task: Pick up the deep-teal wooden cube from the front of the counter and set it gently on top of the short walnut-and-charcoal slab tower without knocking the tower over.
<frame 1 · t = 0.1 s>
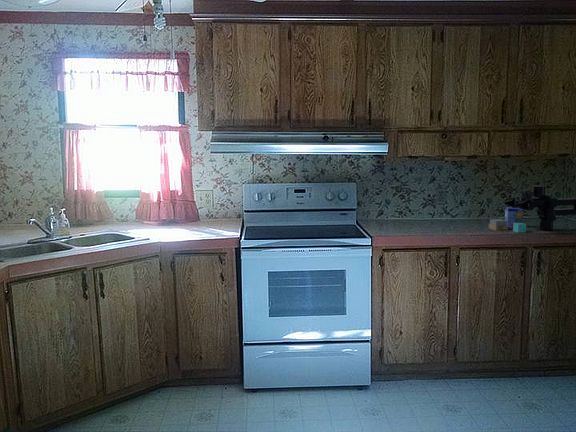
hand: (508, 204, 293), 17 cm above the countertop, tool horizontal, fingers open, 9 cm apart
teal cube: (519, 231, 294), on the countertop
tower top: (498, 224, 304), point 3 cm above the countertop, touching tower base
tower base: (498, 229, 304), on the countertop, touching tower top
ink cartridge box: (513, 226, 312), on the countertop
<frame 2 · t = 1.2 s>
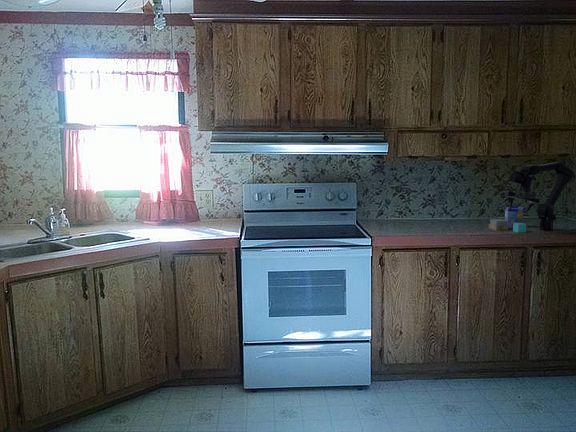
hand: (517, 211, 293), 12 cm above the countertop, tool tilted 15°, fingers open, 9 cm apart
tower top: (498, 224, 304), point 3 cm above the countertop
tower base: (498, 229, 304), on the countertop
everything else where it was.
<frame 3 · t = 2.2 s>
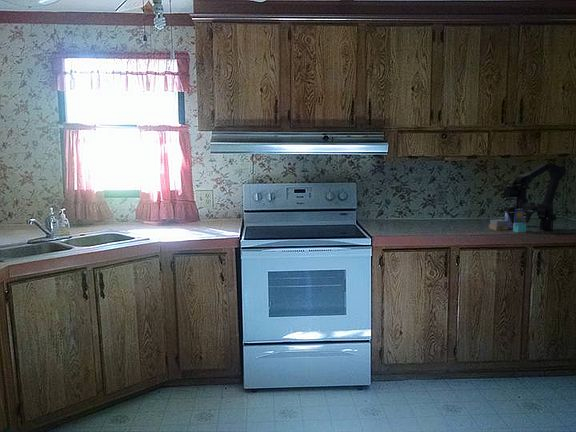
hand: (520, 223, 294), 5 cm above the countertop, tool pointing down, fingers open, 9 cm apart
tower top: (498, 225, 304), point 2 cm above the countertop, touching tower base
tower base: (498, 230, 304), on the countertop, touching tower top
everything else where it was.
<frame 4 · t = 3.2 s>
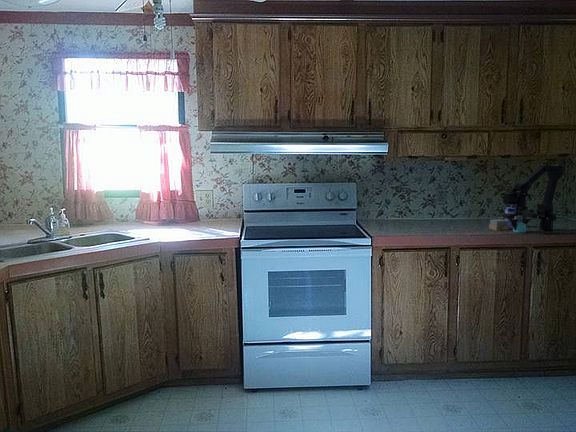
hand: (519, 230, 294), 1 cm above the countertop, tool pointing down, fingers closed on teal cube, 5 cm apart
teal cube: (519, 231, 294), on the countertop, touching gripper
everything else where it was.
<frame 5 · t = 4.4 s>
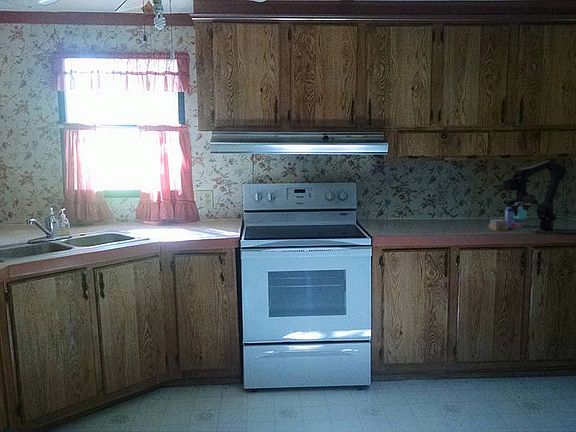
hand: (520, 216, 293), 9 cm above the countertop, tool pointing down, fingers closed on teal cube, 5 cm apart
teal cube: (519, 218, 293), point 8 cm above the countertop, touching gripper
tower top: (498, 225, 304), point 3 cm above the countertop
tower base: (498, 229, 304), on the countertop
everything else where it was.
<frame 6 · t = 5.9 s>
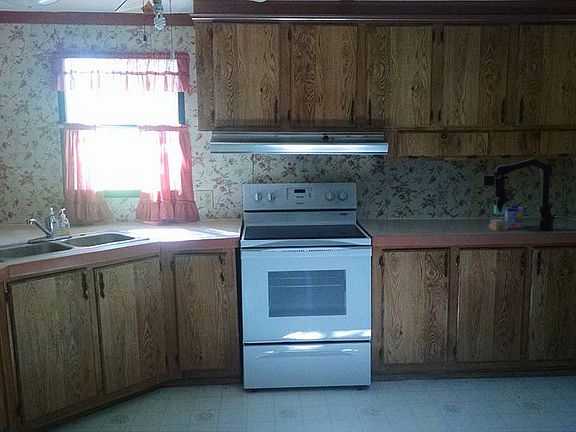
hand: (499, 211, 303), 11 cm above the countertop, tool pointing down, fingers closed on teal cube, 5 cm apart
teal cube: (499, 213, 303), point 10 cm above the countertop, touching gripper
tower top: (498, 225, 304), point 2 cm above the countertop, touching tower base
tower base: (498, 229, 304), on the countertop, touching tower top
everything else where it was.
when the fingers open (8 cm above the countertop, at t = 6.7 s): teal cube drops 2 cm, resting on tower top.
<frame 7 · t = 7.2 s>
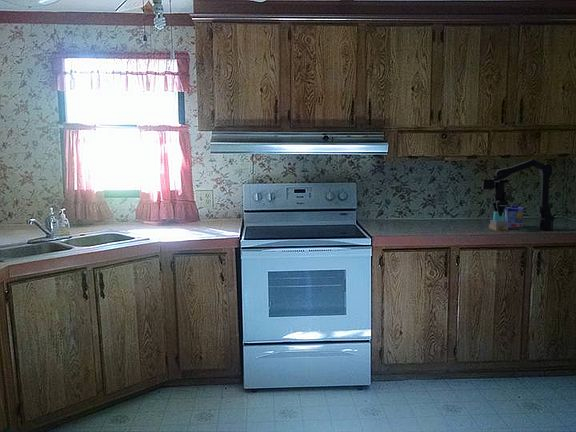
hand: (498, 215, 303), 8 cm above the countertop, tool pointing down, fingers open, 9 cm apart
teal cube: (498, 220, 304), point 5 cm above the countertop, touching tower top
tower top: (498, 225, 304), point 2 cm above the countertop, touching teal cube, tower base
everything else where it was.
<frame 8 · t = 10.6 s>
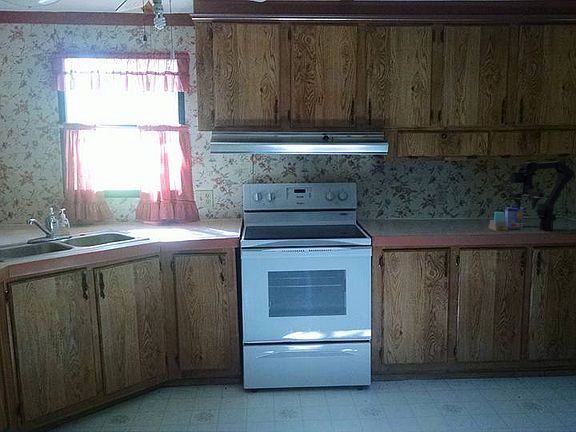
hand: (526, 209, 295), 13 cm above the countertop, tool pointing down, fingers open, 9 cm apart
nothing on the countertop moved.
at the end: teal cube 0.6 cm off-centre on the tower top, point 3.0 cm above the tower top's base; tower top point 2.3 cm above the countertop; tower base moved 0.9 cm from its start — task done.
